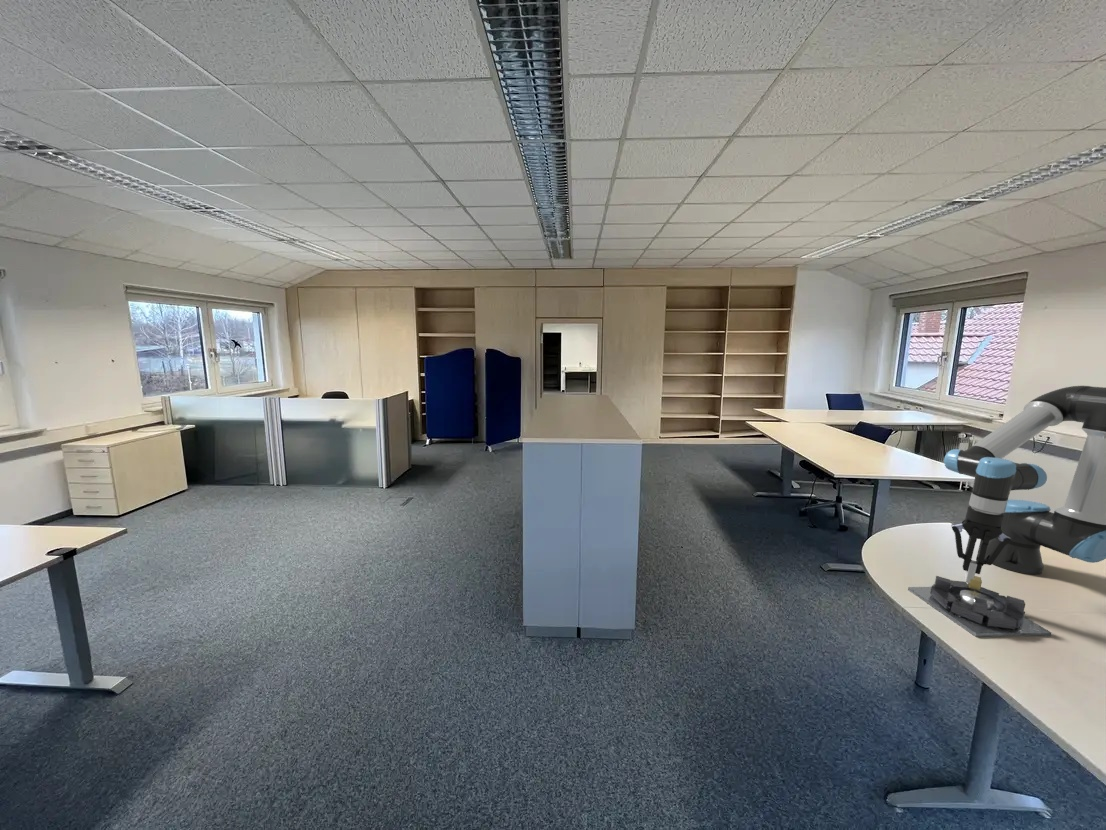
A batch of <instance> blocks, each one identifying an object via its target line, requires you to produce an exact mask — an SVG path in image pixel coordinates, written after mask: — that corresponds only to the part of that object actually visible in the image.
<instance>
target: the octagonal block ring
mask: <svg viewBox="0 0 1106 830" xmlns="http://www.w3.org/2000/svg"><path fill="white" fill-rule="evenodd" d="M934 579H935V580H934V584H933V585H931V586H930V587H931V592H930V594H931V596H932V597H933V598H934V599H935V600H936V601H938V602H939V603H940V604H941V605H942V606H943V607H944V608H946V609H951V612H953V613H956V614H958V615H960V616H963V617H965V618H968V619H970V620H973V621H975V622H978V623H980V624H982V623H985V624H986V625H987V626H994V627H1002V628H1011V629H1015V628H1019V626H1020V625H1021V623H1022V621H1023V619H1024V617H1025V616H1026V615H1025V614H1026V612H1025V608H1026V603H1025V599H1021V598H1018V597H1017V598H1016V597H1013V596H1009V595H1006V596H1005V595H1000V593H999V592H996V591H994V590H991V589H989V588H986V587H983V586H982V583H983V581H982V577H980V576H976V575H975V576H974V579H971V580H970V583H967V582H966V581H961V580H952V579H949V578H947V577H943V576H938V575H935V578H934ZM961 590H970V591H974V592H978V593H980V594H983V595H985V596H987V597H989V598H990V599H992V600H993V602H994V604H993V605H994V606H995V607H996V608H997V609H999V610H1000V611H1001V612H997V611H988V610H987V608H988V604H987V600H983V599H980V598H977V597H974V601H973V606H971V605H969V604H966V603H964V602H961V601H959V600H958V599H957V598H955V597H954V596H953V595H952V594H960V591H961ZM951 593H952V594H951Z"/></svg>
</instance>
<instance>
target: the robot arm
mask: <svg viewBox="0 0 1106 830" xmlns="http://www.w3.org/2000/svg"><path fill="white" fill-rule="evenodd" d="M1063 422H1075V423H1076V422H1077V423H1082V427H1081V429H1082V431H1083V432H1084V433H1085V434H1086V438H1085V441H1084V445H1083V448H1082V451H1081V454H1080V457H1079V459H1078V462H1077V466H1076V470H1075V471H1074V475H1073V477H1072V481H1071V484H1070V487H1069V489H1068V492H1067V496H1066V499H1065V501H1064V505H1063V506H1061V507H1057V508H1055V509H1054V511H1053V512H1051V507H1050V506H1049V505H1047V504H1045V503H1042V502H1041V503H1040V502H1036V501H1030V500H1023V499H1022V500H1021V499H1009V496H1010V492H1011V491H1020V490H1021V491H1023V490H1024V491H1025V490H1026V491H1029V490H1033V489H1039V488H1040V487H1043V486H1044V485H1045V484H1046V482H1047V480H1048V475H1047V473H1046V471H1045V470H1044V468H1042V467H1040V465H1037V464H1034V463H1027V462H1024V463H1023V462H1022V463H1021V462H1019V463H1018V462H1014V461H1012V460H1010V459H1006V458H1005V457H1006V456H1008V455H1009V454H1011V453H1012V452H1013V451H1015V450H1017V449H1018V448H1020V447H1021V446H1022V445H1024V444H1025V443H1027V442H1029V440H1031V439H1033V438H1034V437H1036V436H1037V435H1038V434H1040V433H1041V432H1043V431H1044V430H1046V429H1047V428H1049V427H1055V426H1057V425H1060V424H1061V423H1063ZM1004 458H1005V459H1004ZM943 463H944V466H945V468H946V469H947V470H949V471H952V472H954V473H957V474H960V475H964V476H969V477H972V478H974V481H973V486H972V489H971V493H970V494H971V495H970V497H969V501H968V505H969V506H967V510H966V515H965V517H964V519H963V520H962V522H961V523H957V524H955V523H952V524H951V525H950V526H951V529H952V531H953V533H954V539H955V545H956V547H955V548H956V555H957V556H958V558H959V559H962V560H963V561H962V562H963V563H962V570H963V571H965V575H964V582H966V583H967V584H968V583H970V580H971V579H974V576H976V575H981V572H982V568H983V566H984V565H987V566H992V565H994V566H997V567H999V568H1002V569H1006V570H1008V571H1011V572H1016V573H1020V574H1026V575H1040V574H1043V570H1044V568H1045V566H1044V563H1043V558H1042V553H1041V547H1043V548H1045V549H1046V548H1047V549H1049V550H1052V551H1054V552H1057V553H1060V554H1063V555H1065V556H1068V557H1070V558H1072V559H1077V560H1079V561H1082V562H1086V563H1100V562H1102V561H1104V560H1105V559H1106V387H1102V386H1101V387H1100V386H1090V385H1072V386H1065V387H1062V388H1059V389H1055V390H1052V391H1049V392H1046V393H1044V394H1041V395H1039V396H1037V397H1036V398H1034V399H1032V400H1030V401H1029V402H1028V403H1026V404H1025V405H1024V407H1023V410H1022V411H1020V412H1019V413H1018V414H1016V415H1015V416H1014V417H1012V418H1011V419H1009V420H1007V421H1006V422H1005V423H1003V424H1002V425H1000V426H999V427H997V428H996V429H994V431H992V432H991V433H989V434H987V435H985V436H984V437H982V439H980V440H979V441H977V442H975V443H974V444H973V445H972V446H970V447H968V448H967V449H964V450H963V449H957V448H955V449H951V450H949V451H947V452H946V454H945V456H944V458H943ZM963 529H964V531H965V532H966V534H967V535H968V541H967V543H966V549H965V553H964V551H963V550H964V549H963V542H962V535H961V533H962V532H963ZM977 540H980V541H979V542H980V543H979V545H978V550H977V554H976V559H975V560H973V554H974V550H975V547H976V543H977Z"/></svg>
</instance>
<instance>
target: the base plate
mask: <svg viewBox="0 0 1106 830" xmlns="http://www.w3.org/2000/svg"><path fill="white" fill-rule="evenodd" d="M931 587H932V586H908V588H907V591H909V592H911V594H914V595H915V596H916V597H918V598H919V599H920V600H922V601H923V602H925V603H926V604H927V605H930V606H931V607H932V608H933V609H935V610H936V611H938V612H939V613H941V614H942V615H943V616H945V617H946V618H948V619H950V621H952V622H953V623H955V624H956V625H958V626H959V627H961V628H962V629H964V630H965V631H966V632H968V633H969V634H971V635H972V636H974V637H975V638H979V637H980V638H981V637H982V638H984V637H987V638H988V637H993V638H994V637H1048V636H1049V637H1050V636H1052V632H1051V631H1050V630H1048V629H1046V628H1044V627H1042V626H1041V625H1039V624H1037V623H1036V622H1035V621H1033V620H1031V619H1029V618H1028V617H1026V616H1024V619H1023V621H1022V623H1021V625H1020V626H1019V628H1015V629H1011V628H1002V627H994V626H987V625H986V624H985V623H982V624H980V623H978V622H975V621H973V620H970V619H968V618H965V617H963V616H960V615H958V614H956V613H953V612H951V609H946V608H944V607H943V606H942V605H941V604H940V603H939V602H938V601H936V600H935V599H934V598H933V597H932V596H931V594H930V592H931ZM951 594H952V593H951ZM952 595H953V596H954V597H955V598H957V599H958V600H959V601H961V602H964V603H966V604H969V605H971V606H973V601H974V597H977V598H980V599H983V600H987V604H988V608H987V610H988V611H997V612H1001V611H1000V610H999V609H997V608H996V607H995V606H994V605H993V604H994V602H993V600H992V599H990V598H989V597H987V596H985V595H983V594H980V593H978V592H974V591H970V590H961V591H960V594H952Z"/></svg>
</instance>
